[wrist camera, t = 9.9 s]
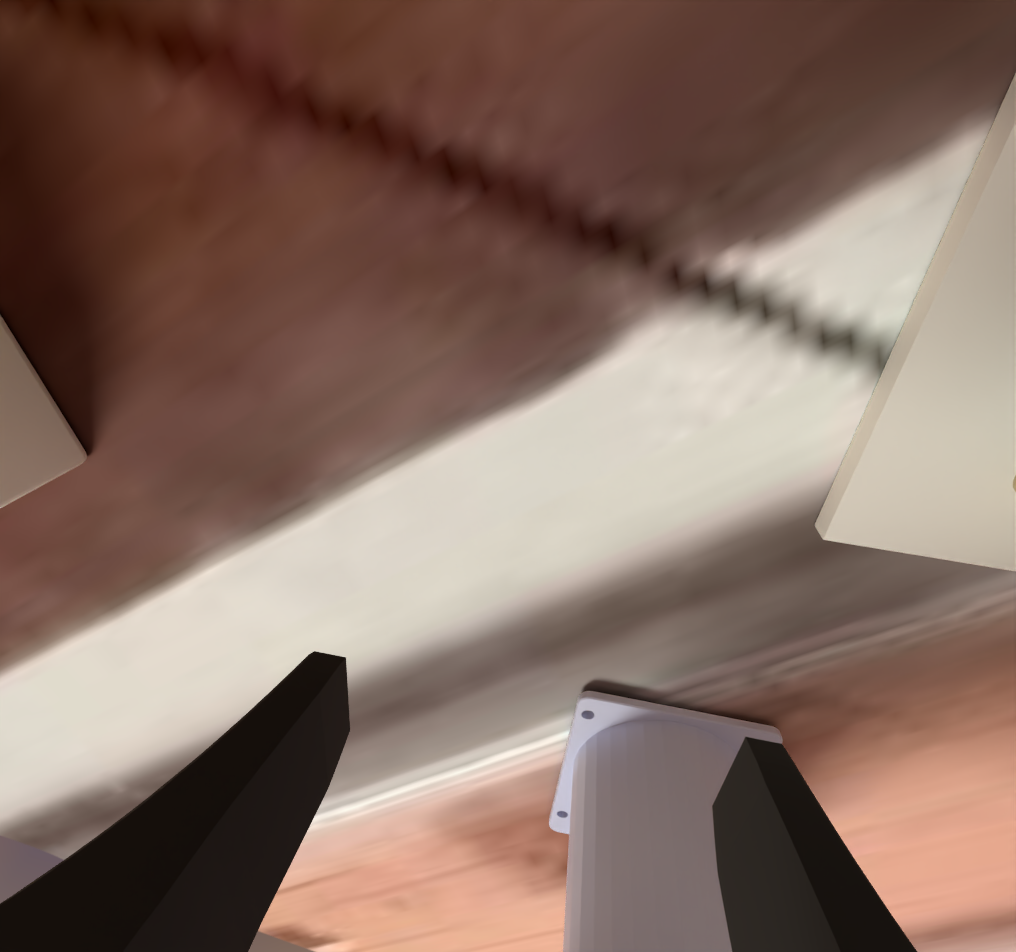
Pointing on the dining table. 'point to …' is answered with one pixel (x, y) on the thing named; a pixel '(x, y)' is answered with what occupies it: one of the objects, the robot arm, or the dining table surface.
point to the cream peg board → (947, 393)
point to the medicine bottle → (29, 427)
